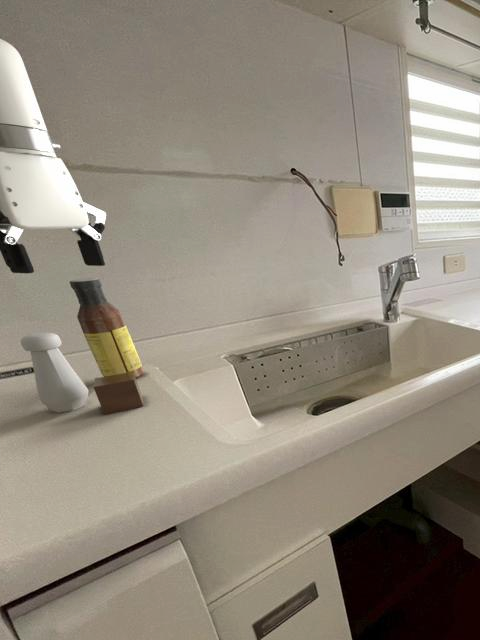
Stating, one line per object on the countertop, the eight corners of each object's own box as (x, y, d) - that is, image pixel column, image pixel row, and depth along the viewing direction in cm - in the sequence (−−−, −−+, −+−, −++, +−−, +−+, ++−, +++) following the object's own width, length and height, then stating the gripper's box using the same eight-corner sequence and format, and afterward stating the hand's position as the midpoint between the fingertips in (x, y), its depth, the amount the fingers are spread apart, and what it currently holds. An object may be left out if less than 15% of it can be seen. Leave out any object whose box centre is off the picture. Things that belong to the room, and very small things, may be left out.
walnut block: (105, 404, 70) (94, 378, 68) (142, 397, 73) (133, 371, 71) (104, 414, 67) (93, 387, 65) (143, 406, 70) (133, 379, 68)
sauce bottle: (139, 370, 86) (106, 275, 78) (149, 376, 82) (115, 278, 75) (98, 379, 81) (59, 279, 73) (107, 386, 77) (66, 282, 70)
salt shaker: (92, 397, 73) (64, 327, 68) (93, 407, 69) (64, 334, 64) (46, 407, 69) (12, 334, 64) (44, 418, 65) (9, 341, 61)
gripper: (63, 153, 65) (100, 262, 71) (-101, 132, 49) (-34, 275, 55) (102, 152, 64) (137, 263, 70) (-52, 130, 48) (11, 277, 54)
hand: (62, 268), depth 62 cm, fingers open, 9 cm apart
